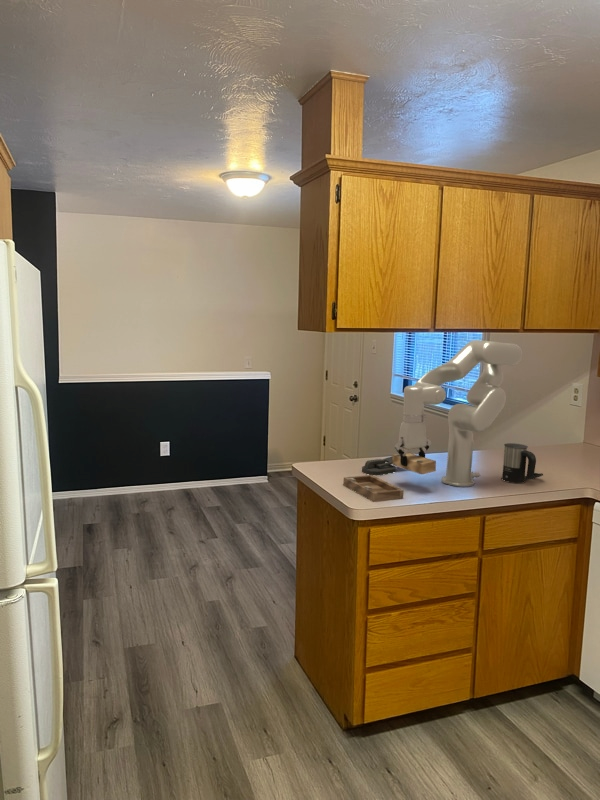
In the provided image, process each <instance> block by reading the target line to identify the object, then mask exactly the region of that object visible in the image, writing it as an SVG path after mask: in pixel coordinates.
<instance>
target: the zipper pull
mask: <svg viewBox="0 0 600 800" xmlns="http://www.w3.org/2000/svg"><path fill="white" fill-rule="evenodd" d="M408 453H411V452H409V451H408ZM411 454H413V453H411ZM396 471H397V466H395V465H393V455H392V456H389V457H386V458H383V459H381V458H379V459H378V458H377V459H371V460H367V461H365V464H364V465H363V466H361V473H363V474H364V473H366V474H365V475H367V474H369V475H380V476H383V474H385V475H389V474H388V473H391V474H394V473H393V472H396Z"/></svg>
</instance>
